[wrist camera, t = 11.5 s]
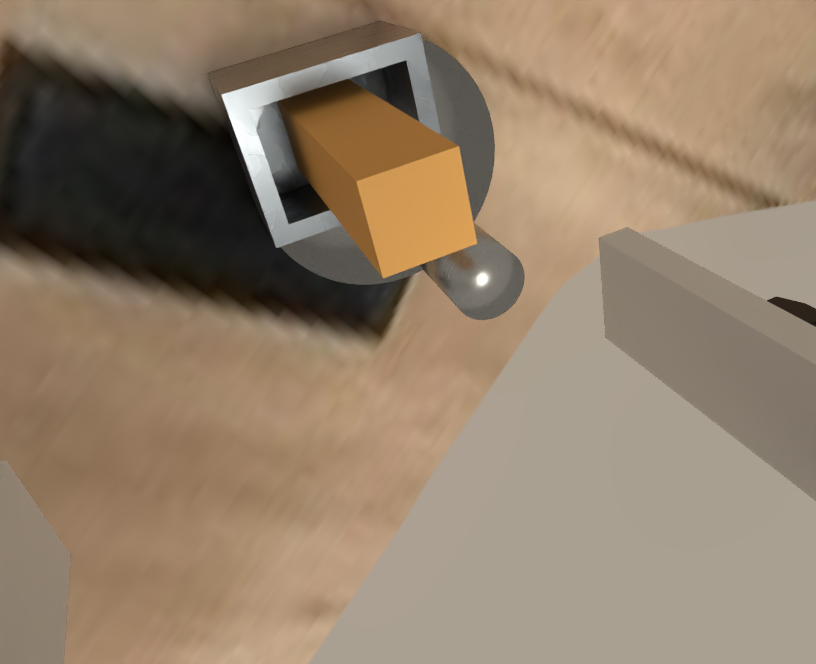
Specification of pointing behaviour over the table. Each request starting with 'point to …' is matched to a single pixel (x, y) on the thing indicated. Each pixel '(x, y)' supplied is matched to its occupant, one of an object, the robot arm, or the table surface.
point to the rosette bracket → (405, 90)
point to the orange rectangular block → (381, 175)
